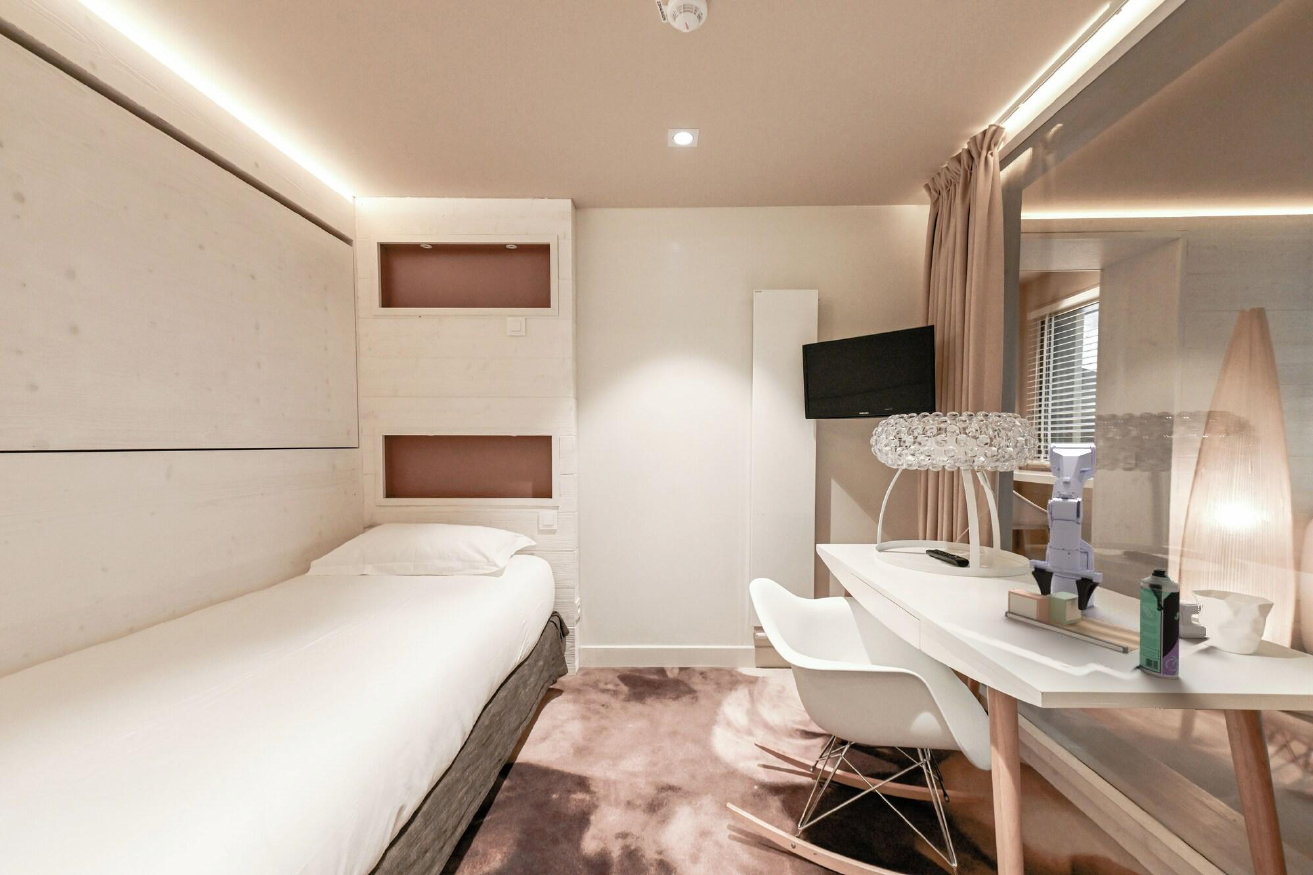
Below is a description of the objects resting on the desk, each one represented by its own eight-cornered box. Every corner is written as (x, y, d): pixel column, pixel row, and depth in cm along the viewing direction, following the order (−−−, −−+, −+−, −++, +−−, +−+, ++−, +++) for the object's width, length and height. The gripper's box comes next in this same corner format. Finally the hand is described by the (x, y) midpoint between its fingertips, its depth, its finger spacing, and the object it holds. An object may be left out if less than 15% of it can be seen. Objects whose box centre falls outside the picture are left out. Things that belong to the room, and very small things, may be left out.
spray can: (1182, 681, 97) (1184, 574, 97) (1143, 674, 100) (1144, 570, 100) (1173, 670, 102) (1174, 568, 101) (1136, 663, 105) (1137, 564, 104)
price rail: (1007, 619, 129) (1007, 610, 129) (1128, 657, 107) (1128, 646, 107) (1005, 620, 129) (1005, 611, 129) (1125, 658, 107) (1125, 647, 107)
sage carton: (1046, 619, 126) (1046, 594, 126) (1062, 615, 129) (1062, 591, 129) (1065, 625, 122) (1065, 599, 122) (1081, 620, 125) (1082, 596, 125)
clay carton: (1017, 612, 131) (1018, 588, 131) (1048, 621, 125) (1048, 596, 125) (1007, 614, 129) (1008, 590, 129) (1038, 624, 123) (1038, 598, 123)
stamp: (1188, 633, 121) (1188, 597, 121) (1218, 644, 114) (1219, 606, 114) (1149, 632, 121) (1149, 596, 121) (1177, 644, 114) (1177, 606, 114)
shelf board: (1045, 610, 136) (1045, 606, 136) (1165, 644, 114) (1165, 638, 114) (1005, 620, 129) (1005, 615, 129) (1125, 658, 107) (1125, 652, 107)
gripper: (1022, 543, 130) (1021, 598, 130) (1090, 556, 117) (1090, 616, 117) (1039, 541, 133) (1038, 594, 133) (1107, 553, 120) (1107, 612, 120)
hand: (1063, 604), depth 125 cm, fingers open, 7 cm apart
